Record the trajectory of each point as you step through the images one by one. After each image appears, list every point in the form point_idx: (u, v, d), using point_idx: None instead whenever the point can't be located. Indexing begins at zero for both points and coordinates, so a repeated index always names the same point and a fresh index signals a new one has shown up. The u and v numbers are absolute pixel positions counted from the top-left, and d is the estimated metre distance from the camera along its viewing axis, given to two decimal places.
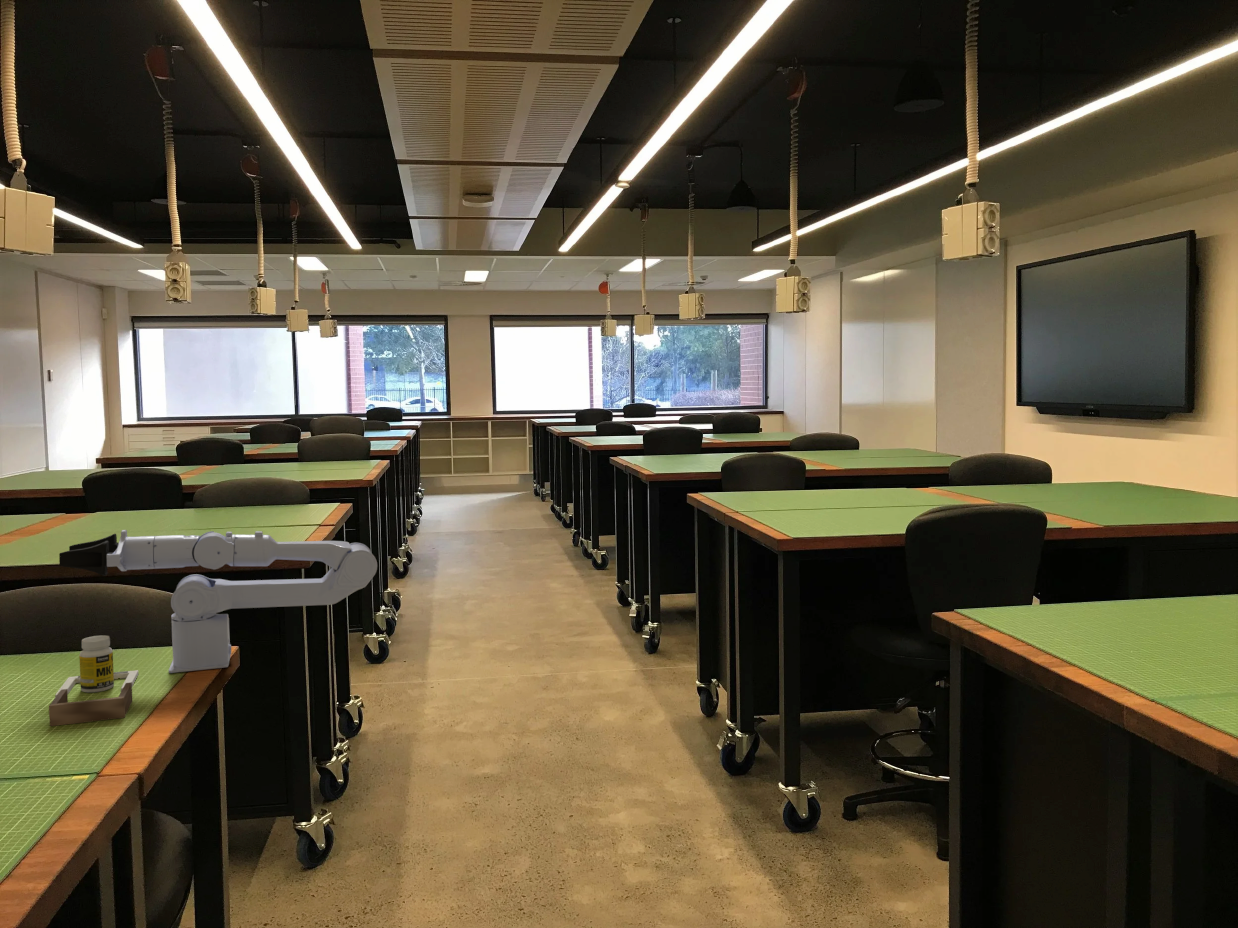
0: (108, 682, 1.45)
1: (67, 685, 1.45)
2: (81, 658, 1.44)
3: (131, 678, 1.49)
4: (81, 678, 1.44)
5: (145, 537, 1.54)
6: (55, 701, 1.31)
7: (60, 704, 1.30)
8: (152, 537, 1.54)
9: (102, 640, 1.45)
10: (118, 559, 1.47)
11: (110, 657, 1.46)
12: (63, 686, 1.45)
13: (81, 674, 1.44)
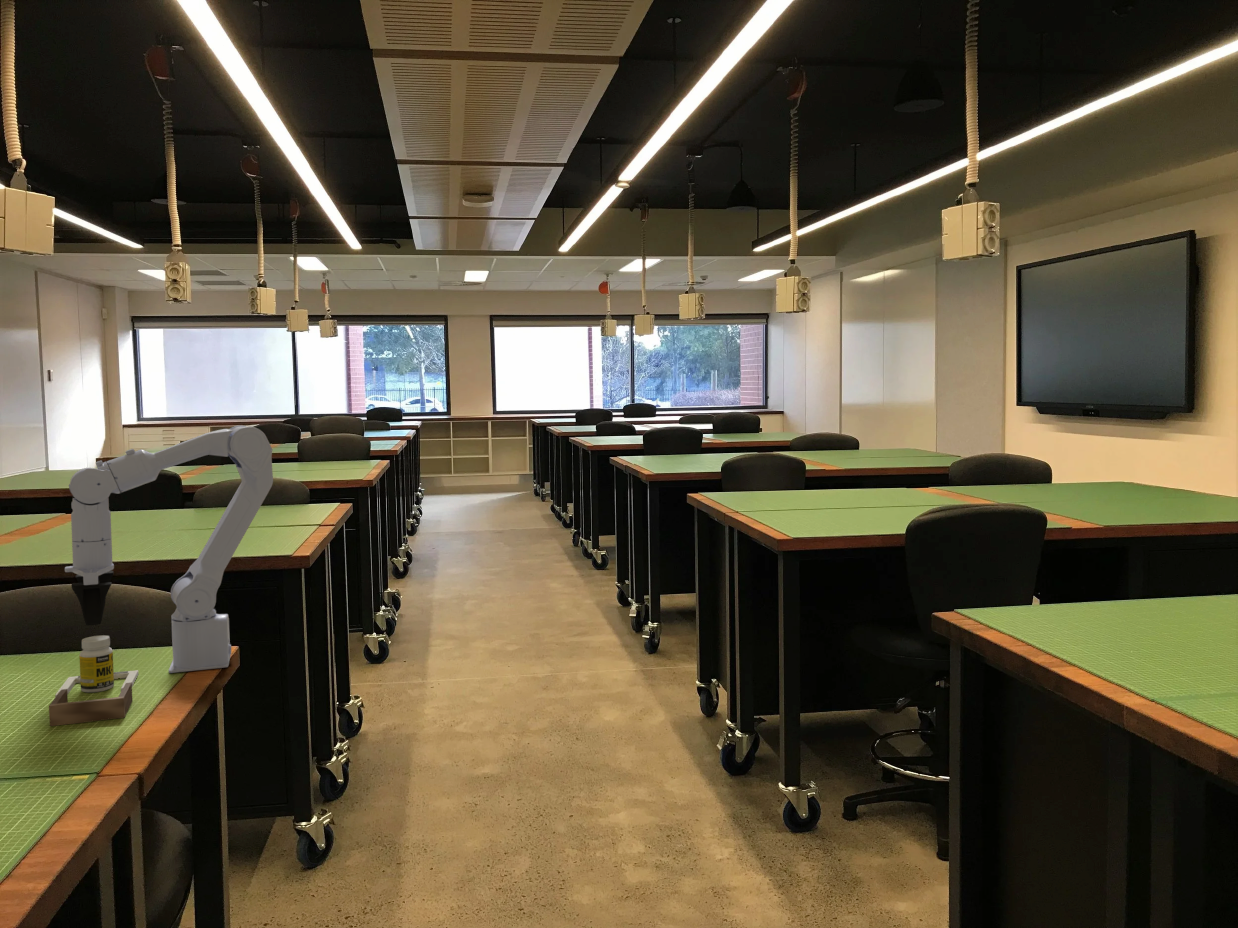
0: (108, 682, 1.45)
1: (67, 685, 1.45)
2: (81, 658, 1.44)
3: (131, 678, 1.49)
4: (81, 678, 1.44)
5: (72, 549, 1.47)
6: (55, 701, 1.31)
7: (60, 704, 1.30)
8: (72, 542, 1.47)
9: (102, 640, 1.45)
10: (89, 574, 1.43)
11: (110, 657, 1.46)
12: (63, 686, 1.45)
13: (81, 674, 1.44)
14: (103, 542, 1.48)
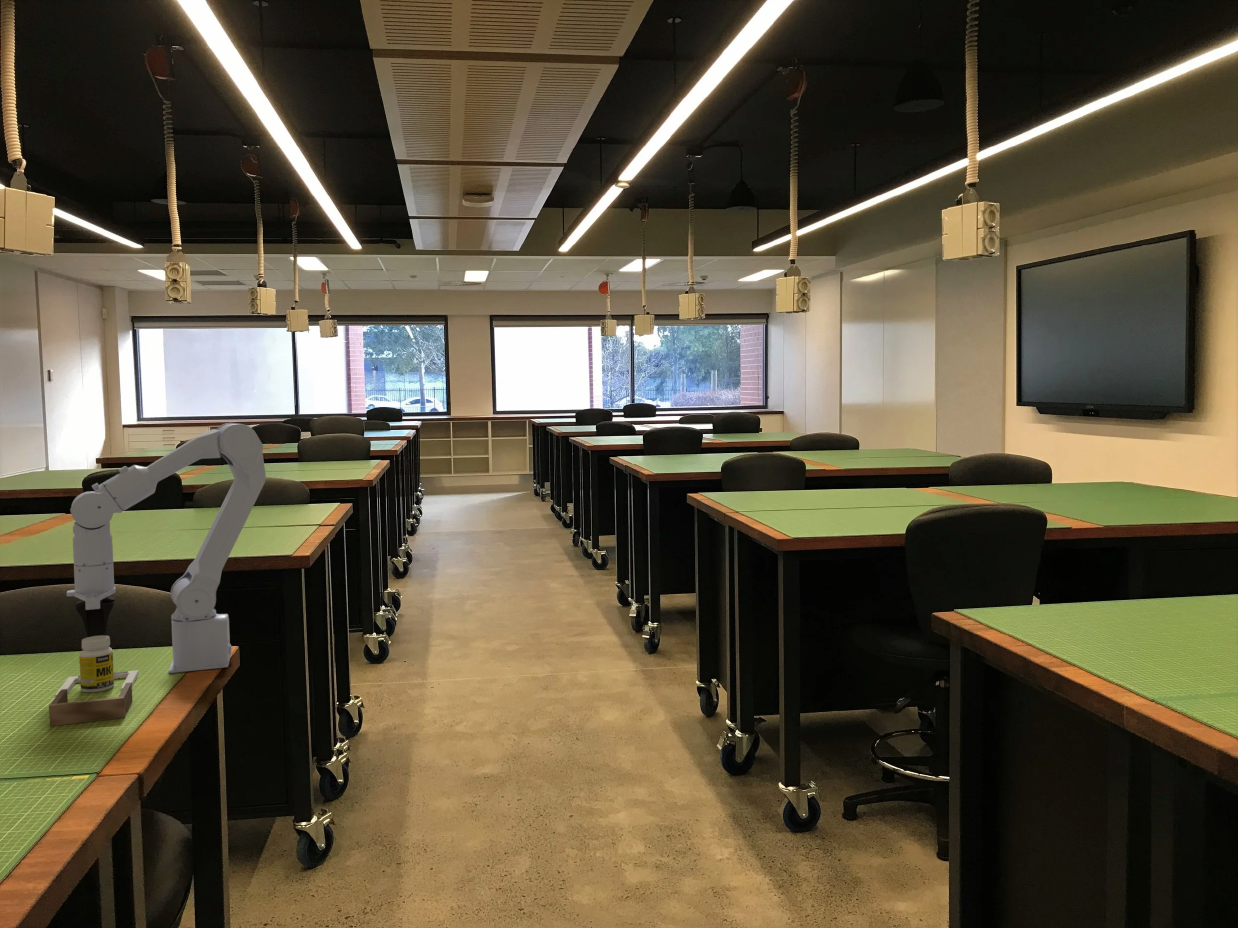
0: (108, 682, 1.45)
1: (67, 685, 1.45)
2: (81, 658, 1.44)
3: (131, 678, 1.49)
4: (81, 678, 1.44)
5: (74, 573, 1.48)
6: (55, 701, 1.31)
7: (60, 704, 1.30)
8: (74, 567, 1.47)
9: (102, 640, 1.45)
10: (91, 598, 1.43)
11: (110, 657, 1.46)
12: (63, 686, 1.45)
13: (81, 674, 1.44)
14: (105, 566, 1.48)
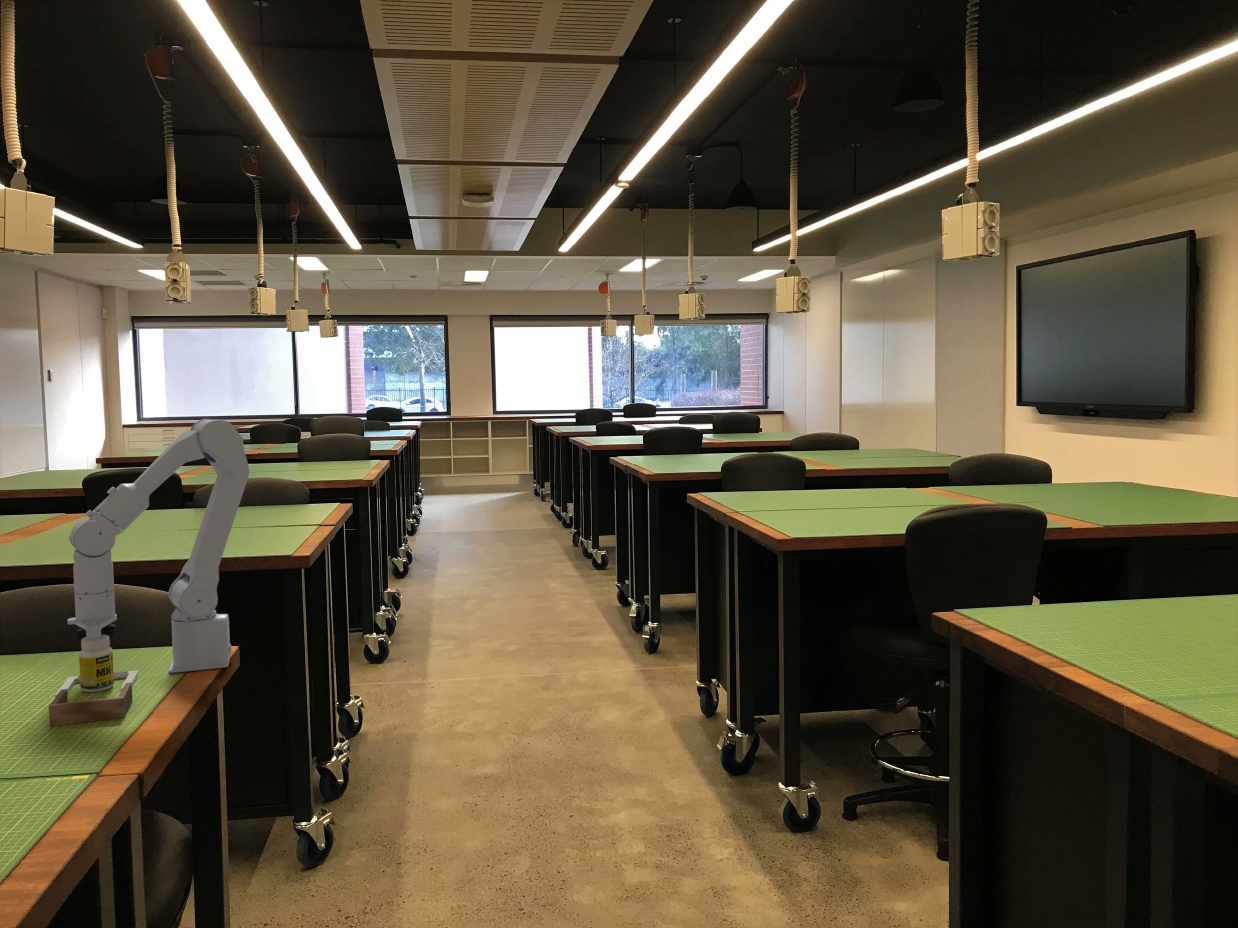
0: (108, 682, 1.45)
1: (67, 685, 1.45)
2: (81, 658, 1.43)
3: (131, 678, 1.49)
4: (81, 678, 1.44)
5: (75, 601, 1.47)
6: (55, 701, 1.31)
7: (60, 704, 1.30)
8: (75, 595, 1.47)
9: (102, 641, 1.44)
10: (92, 627, 1.42)
11: (110, 657, 1.46)
12: (63, 686, 1.45)
13: (81, 674, 1.44)
14: (106, 594, 1.47)
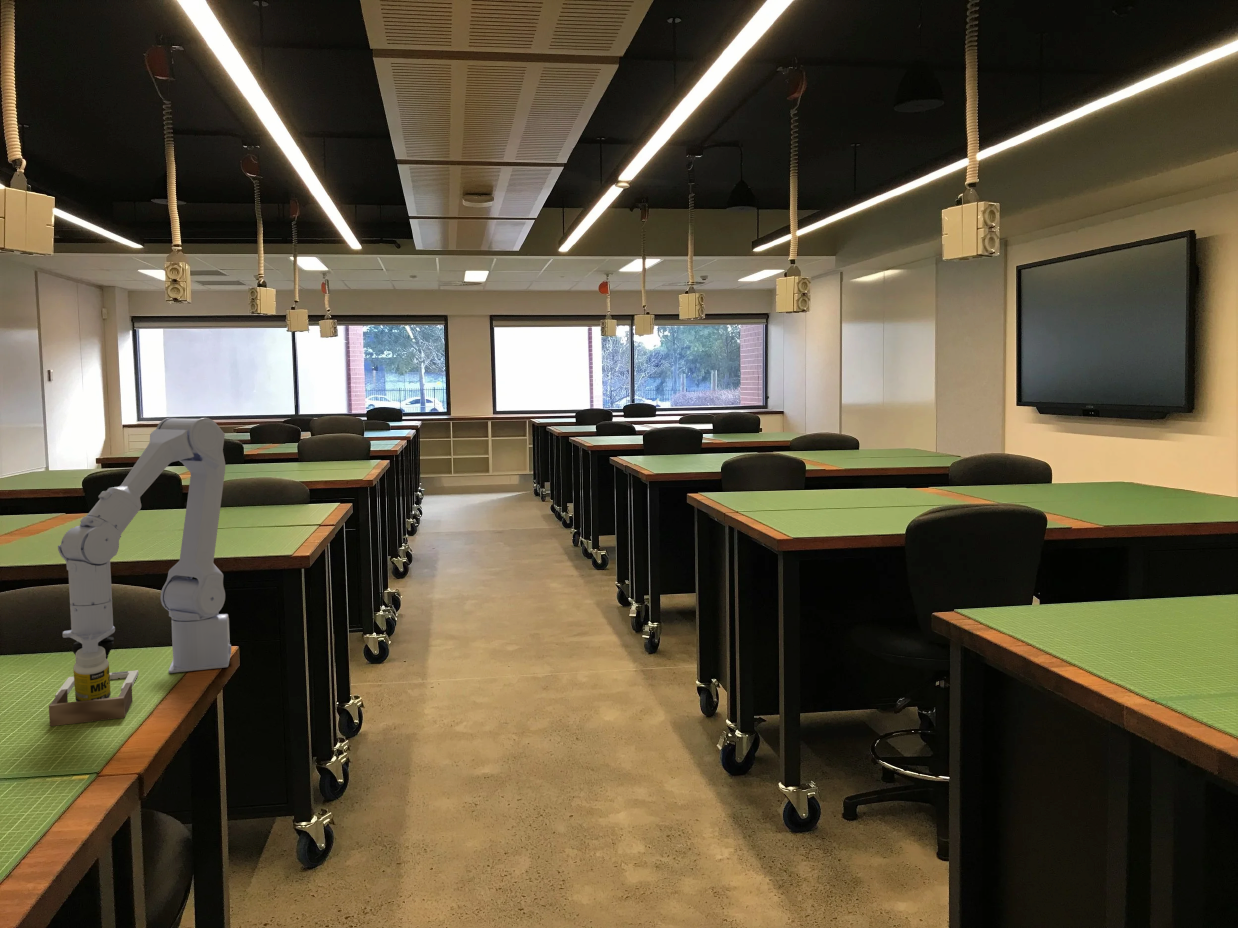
0: (103, 696, 1.38)
1: (67, 685, 1.45)
2: (75, 673, 1.36)
3: (131, 678, 1.49)
4: (75, 691, 1.37)
5: (71, 613, 1.39)
6: (55, 701, 1.31)
7: (60, 704, 1.30)
8: (70, 606, 1.39)
9: (96, 657, 1.36)
10: (88, 641, 1.34)
11: (105, 672, 1.38)
12: (63, 686, 1.45)
13: (75, 687, 1.37)
14: (103, 605, 1.39)
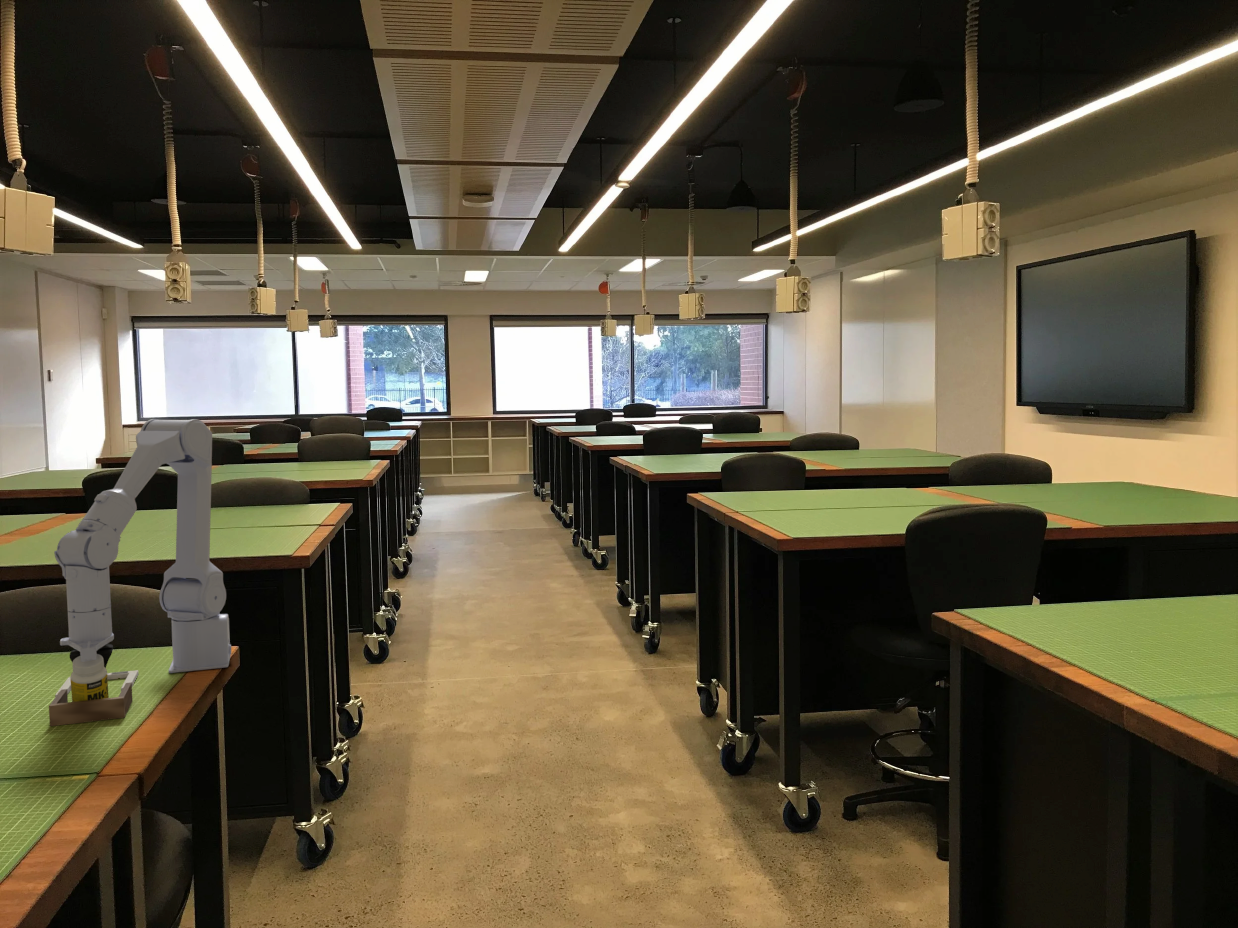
0: None
1: (67, 685, 1.45)
2: (71, 682, 1.32)
3: (131, 678, 1.49)
4: (72, 700, 1.33)
5: (68, 620, 1.35)
6: (55, 701, 1.31)
7: (60, 704, 1.30)
8: (68, 613, 1.34)
9: (94, 666, 1.31)
10: (87, 649, 1.30)
11: (103, 681, 1.33)
12: (63, 686, 1.45)
13: (72, 696, 1.33)
14: (102, 611, 1.35)
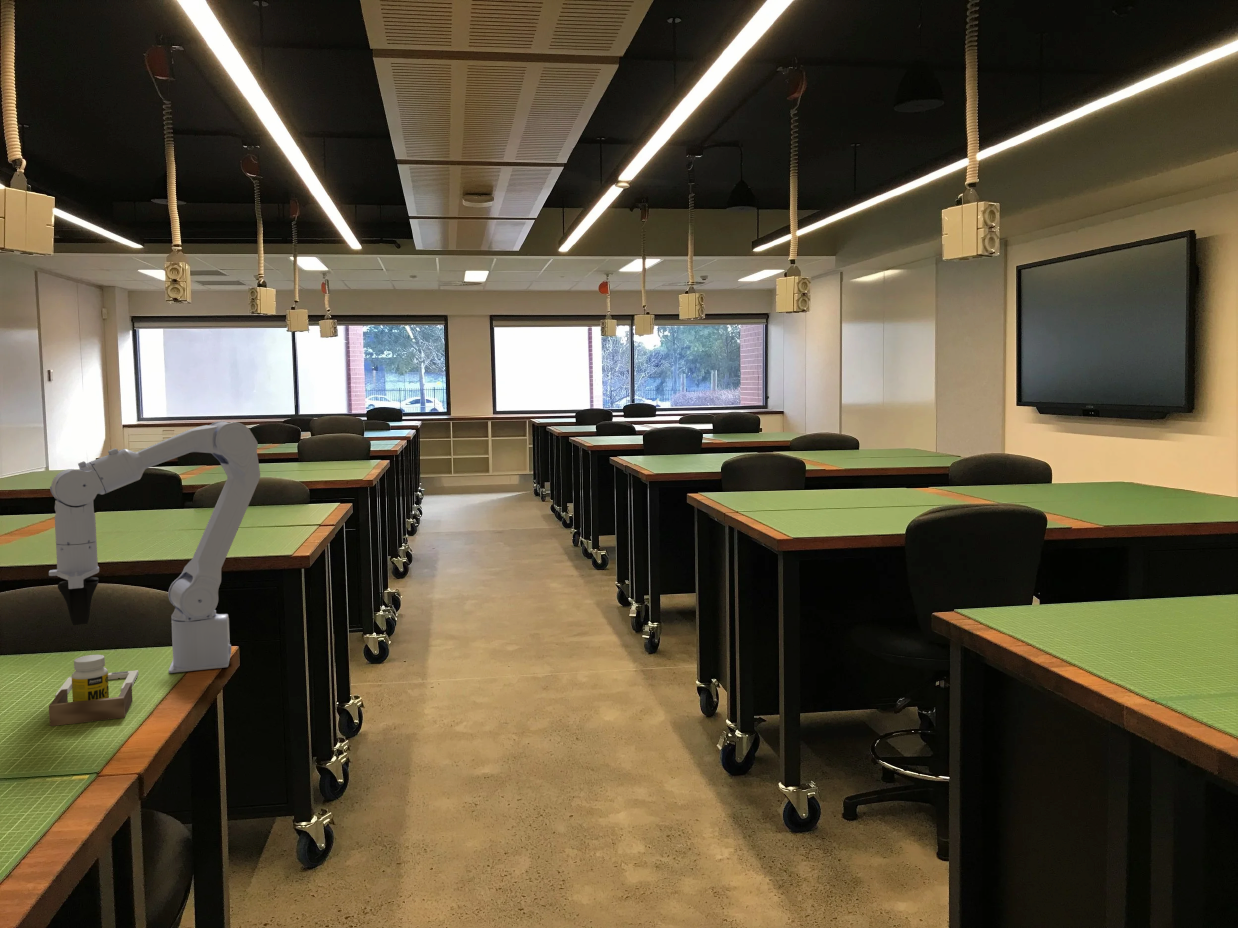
0: None
1: (67, 685, 1.45)
2: (72, 679, 1.33)
3: (131, 678, 1.49)
4: (73, 701, 1.33)
5: (57, 552, 1.44)
6: (55, 701, 1.31)
7: (60, 704, 1.30)
8: (56, 546, 1.44)
9: (95, 661, 1.34)
10: (74, 577, 1.40)
11: (104, 679, 1.35)
12: (63, 686, 1.45)
13: (73, 697, 1.33)
14: (88, 545, 1.45)
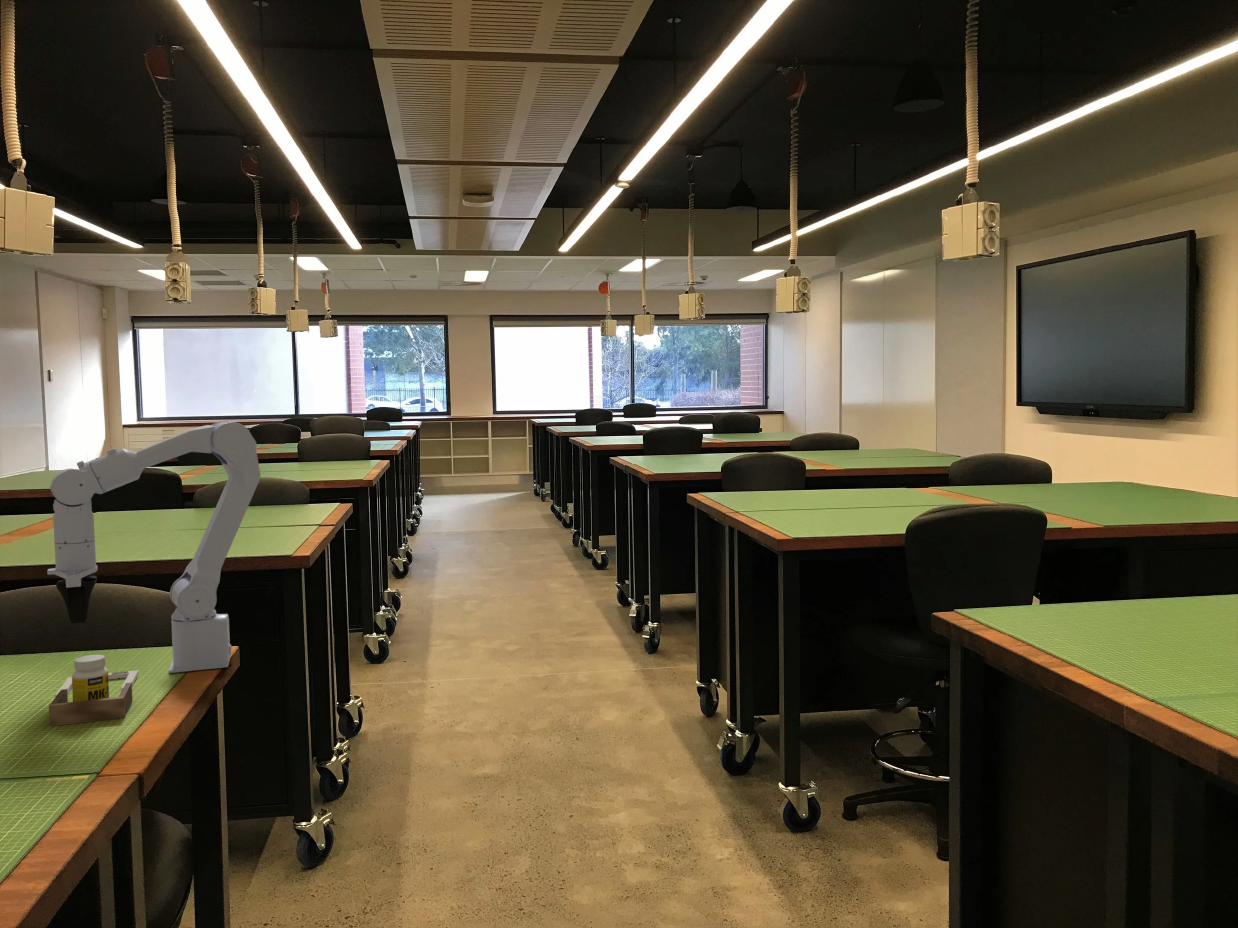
0: None
1: (67, 685, 1.45)
2: (73, 679, 1.33)
3: (131, 678, 1.49)
4: (73, 701, 1.33)
5: (55, 551, 1.45)
6: (55, 701, 1.31)
7: (60, 704, 1.30)
8: (55, 544, 1.45)
9: (95, 660, 1.34)
10: (71, 576, 1.41)
11: (104, 679, 1.35)
12: (63, 686, 1.45)
13: (73, 697, 1.33)
14: (86, 544, 1.46)
